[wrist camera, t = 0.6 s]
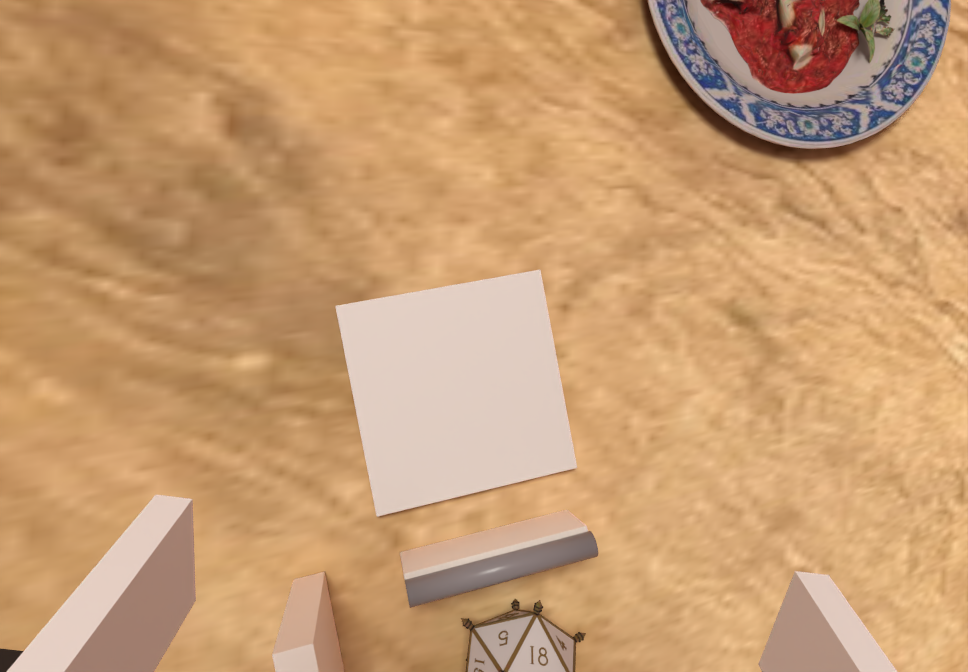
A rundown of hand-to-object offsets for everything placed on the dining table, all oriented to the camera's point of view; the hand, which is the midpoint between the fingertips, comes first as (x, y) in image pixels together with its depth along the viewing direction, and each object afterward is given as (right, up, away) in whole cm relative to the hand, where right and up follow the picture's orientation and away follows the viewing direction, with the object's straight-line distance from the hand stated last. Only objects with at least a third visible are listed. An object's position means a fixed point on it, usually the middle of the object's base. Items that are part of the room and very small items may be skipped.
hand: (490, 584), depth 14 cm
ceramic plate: (+23, +32, +35) cm, 53 cm away
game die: (+1, -16, +30) cm, 34 cm away
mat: (-2, +2, +29) cm, 29 cm away
